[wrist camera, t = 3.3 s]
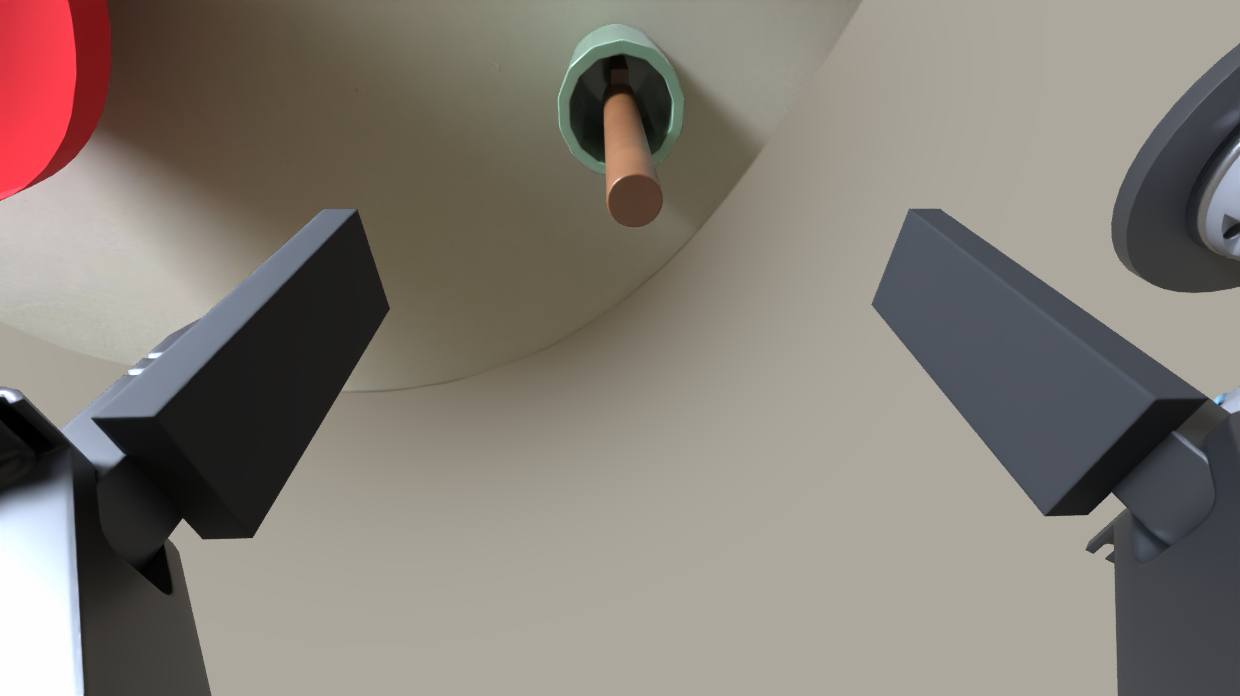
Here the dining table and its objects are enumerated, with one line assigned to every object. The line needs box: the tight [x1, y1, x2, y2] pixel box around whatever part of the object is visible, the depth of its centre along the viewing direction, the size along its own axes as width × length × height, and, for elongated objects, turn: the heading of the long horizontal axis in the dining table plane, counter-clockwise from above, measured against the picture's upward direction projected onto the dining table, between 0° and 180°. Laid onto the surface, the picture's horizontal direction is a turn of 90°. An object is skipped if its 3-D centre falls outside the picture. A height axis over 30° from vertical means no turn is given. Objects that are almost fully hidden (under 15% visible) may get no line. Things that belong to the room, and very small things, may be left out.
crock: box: [558, 24, 685, 175], centre depth 28 cm, size 6×6×9 cm
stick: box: [603, 56, 663, 228], centre depth 24 cm, size 2×3×20 cm, turn 0°
